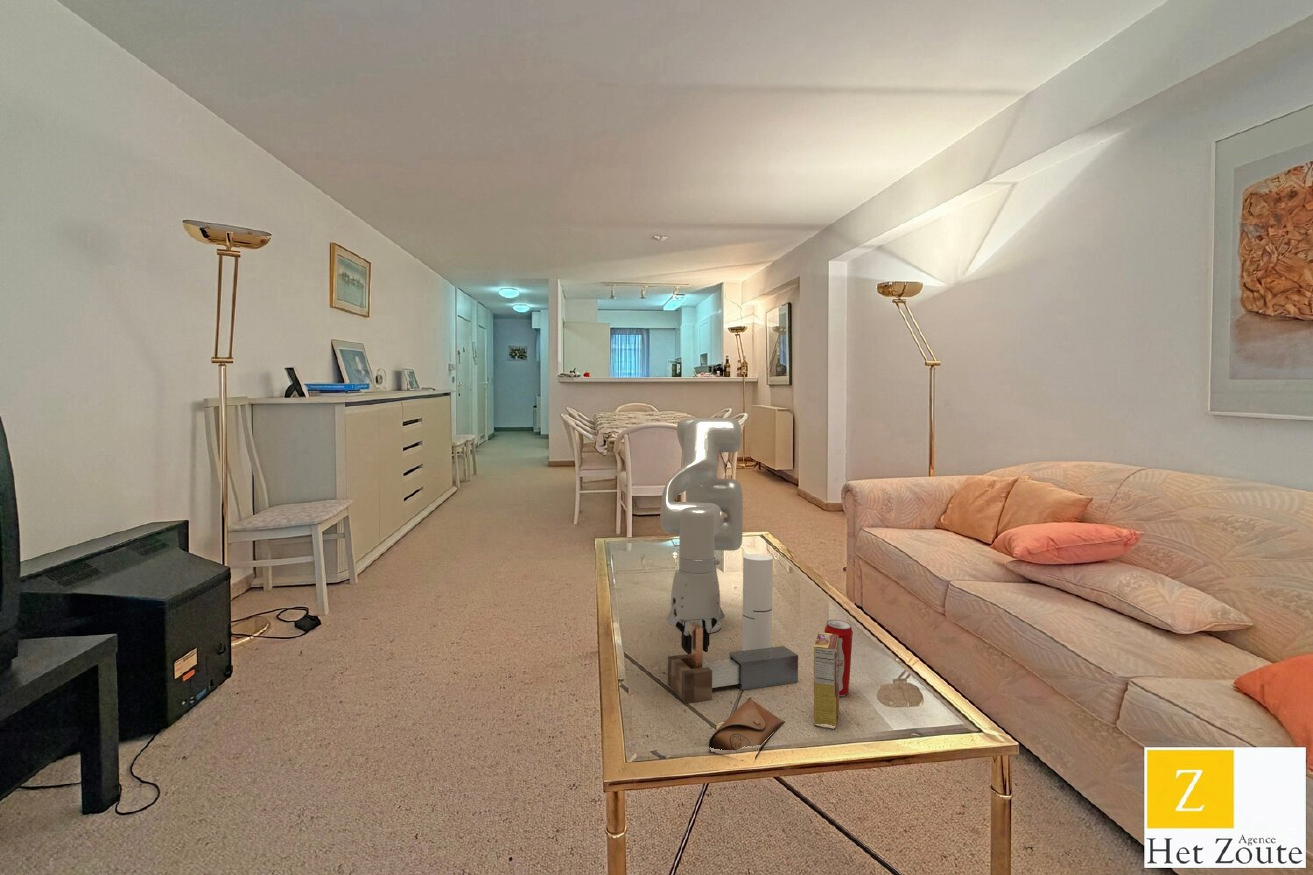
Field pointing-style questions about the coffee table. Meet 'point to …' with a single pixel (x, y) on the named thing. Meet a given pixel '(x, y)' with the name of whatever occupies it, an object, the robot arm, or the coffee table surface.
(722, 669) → the tan wooden slab
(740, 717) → the sunglasses case
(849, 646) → the beverage can
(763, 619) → the cylindrical container
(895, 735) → the coffee table surface
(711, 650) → the coffee table surface
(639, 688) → the coffee table surface
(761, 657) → the grey metal block
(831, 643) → the candy box
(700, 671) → the socket
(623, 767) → the coffee table surface
